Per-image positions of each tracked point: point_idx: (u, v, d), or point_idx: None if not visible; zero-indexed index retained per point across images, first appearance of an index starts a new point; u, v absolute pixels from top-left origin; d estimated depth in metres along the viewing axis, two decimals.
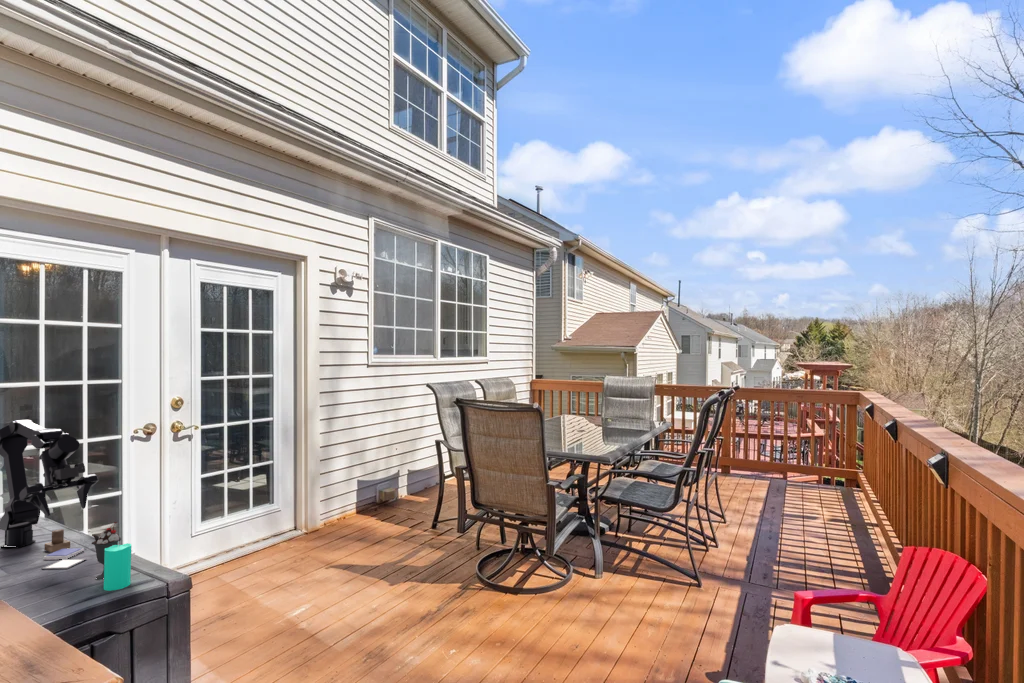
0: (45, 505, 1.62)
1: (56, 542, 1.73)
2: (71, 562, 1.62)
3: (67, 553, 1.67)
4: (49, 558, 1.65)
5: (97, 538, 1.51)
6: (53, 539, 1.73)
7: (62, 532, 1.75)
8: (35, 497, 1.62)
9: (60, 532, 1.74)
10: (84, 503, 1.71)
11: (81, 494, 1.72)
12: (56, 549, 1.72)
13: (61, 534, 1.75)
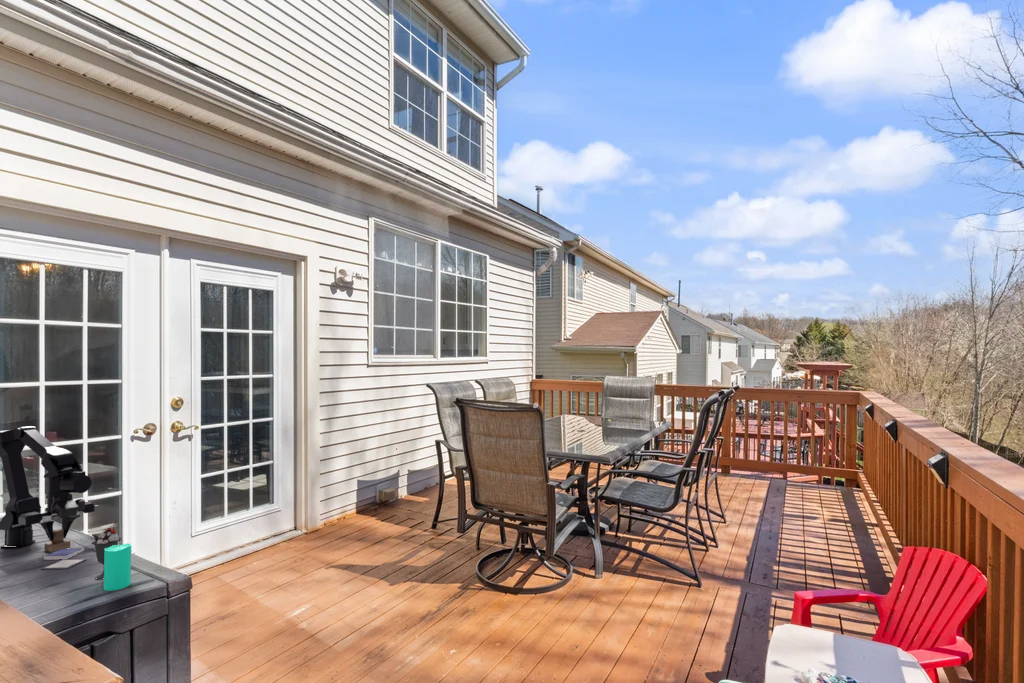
0: (50, 532, 1.72)
1: (56, 542, 1.73)
2: (71, 562, 1.62)
3: (67, 553, 1.67)
4: (49, 558, 1.65)
5: (97, 538, 1.51)
6: (53, 539, 1.73)
7: (62, 532, 1.75)
8: None
9: (60, 532, 1.74)
10: (65, 534, 1.76)
11: (65, 523, 1.77)
12: (56, 549, 1.72)
13: (61, 534, 1.75)
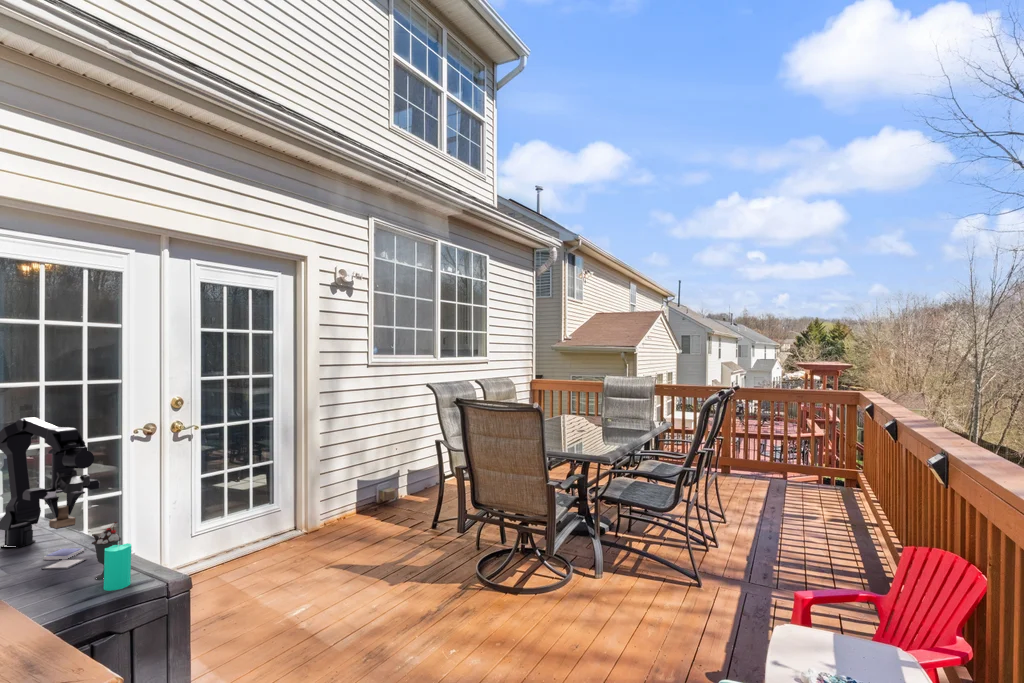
0: (55, 508, 1.70)
1: (61, 518, 1.71)
2: (71, 562, 1.62)
3: (67, 553, 1.67)
4: (49, 558, 1.65)
5: (97, 538, 1.51)
6: (58, 515, 1.71)
7: (67, 508, 1.73)
8: None
9: (65, 508, 1.72)
10: (70, 511, 1.74)
11: (69, 500, 1.74)
12: (61, 525, 1.70)
13: (66, 510, 1.72)
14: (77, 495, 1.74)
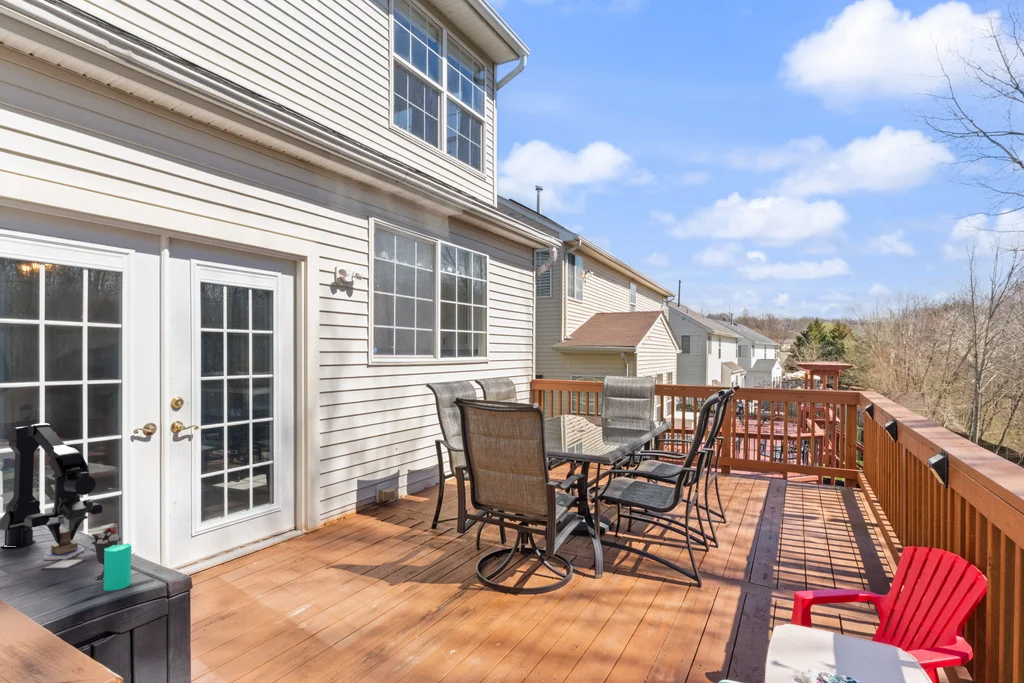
0: (57, 534, 1.67)
1: (63, 544, 1.68)
2: (71, 562, 1.62)
3: (67, 553, 1.67)
4: (49, 558, 1.65)
5: (97, 538, 1.51)
6: (60, 540, 1.68)
7: (69, 533, 1.69)
8: None
9: (67, 533, 1.68)
10: (72, 536, 1.70)
11: (72, 525, 1.71)
12: (63, 551, 1.67)
13: (69, 535, 1.69)
14: (80, 520, 1.71)
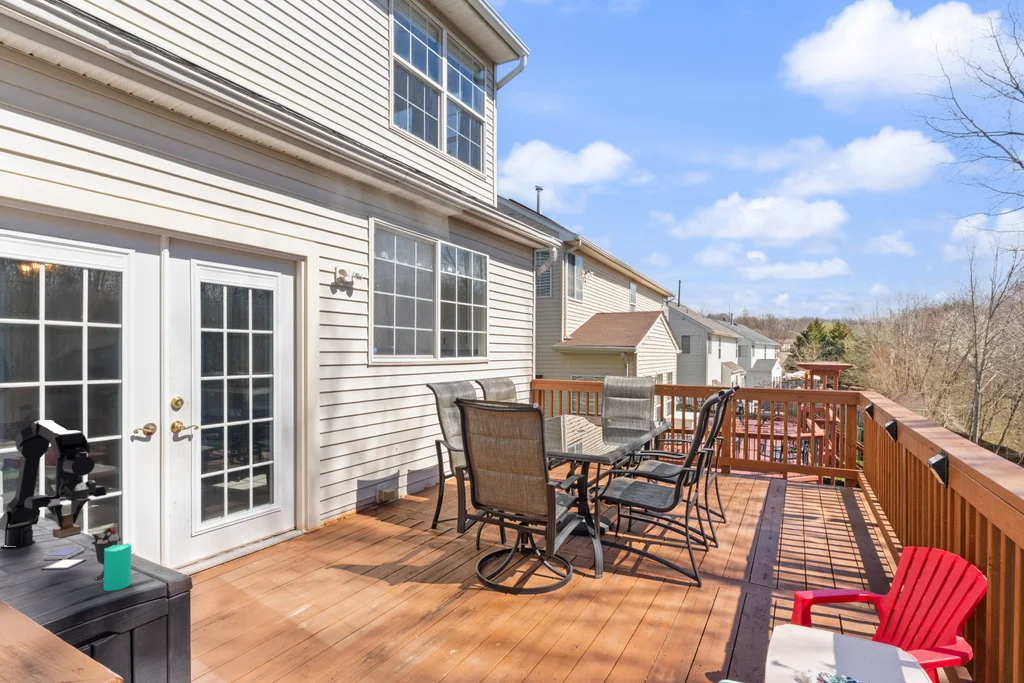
0: (59, 517, 1.60)
1: (65, 527, 1.61)
2: (71, 562, 1.62)
3: (67, 553, 1.67)
4: (49, 558, 1.65)
5: (97, 538, 1.51)
6: (62, 523, 1.61)
7: (71, 516, 1.62)
8: None
9: (69, 516, 1.62)
10: (75, 519, 1.63)
11: (74, 508, 1.64)
12: (65, 534, 1.60)
13: (71, 518, 1.62)
14: (82, 502, 1.64)
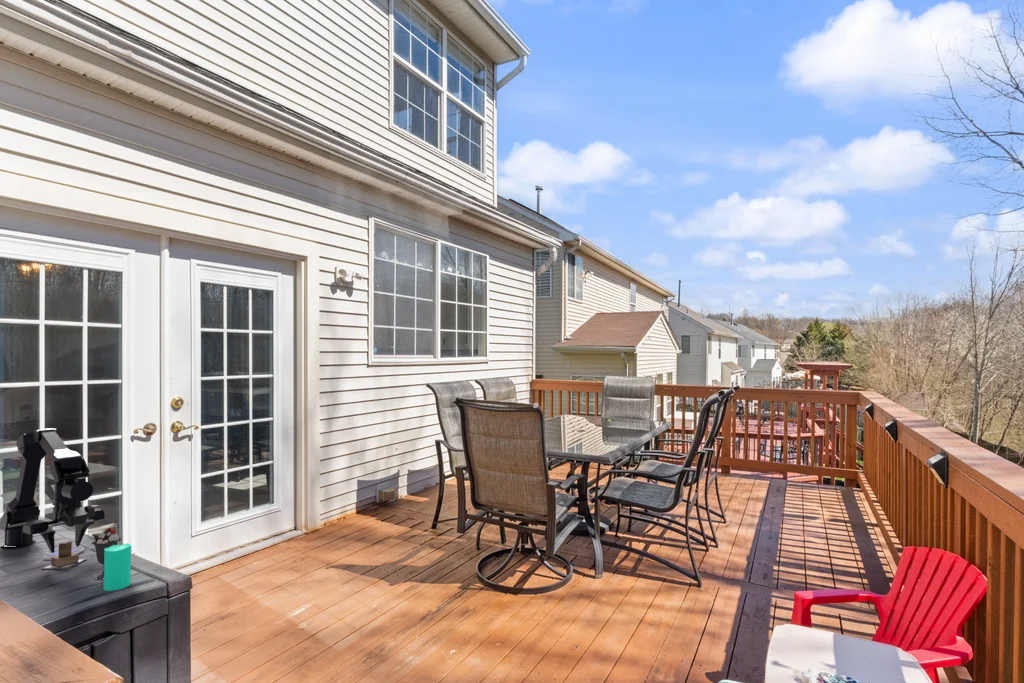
0: (52, 543, 1.57)
1: (63, 555, 1.60)
2: None
3: None
4: (49, 558, 1.65)
5: (97, 538, 1.51)
6: (60, 552, 1.60)
7: (70, 544, 1.61)
8: None
9: (68, 544, 1.61)
10: (79, 542, 1.64)
11: (78, 530, 1.64)
12: (63, 563, 1.59)
13: (69, 546, 1.61)
14: (86, 525, 1.64)
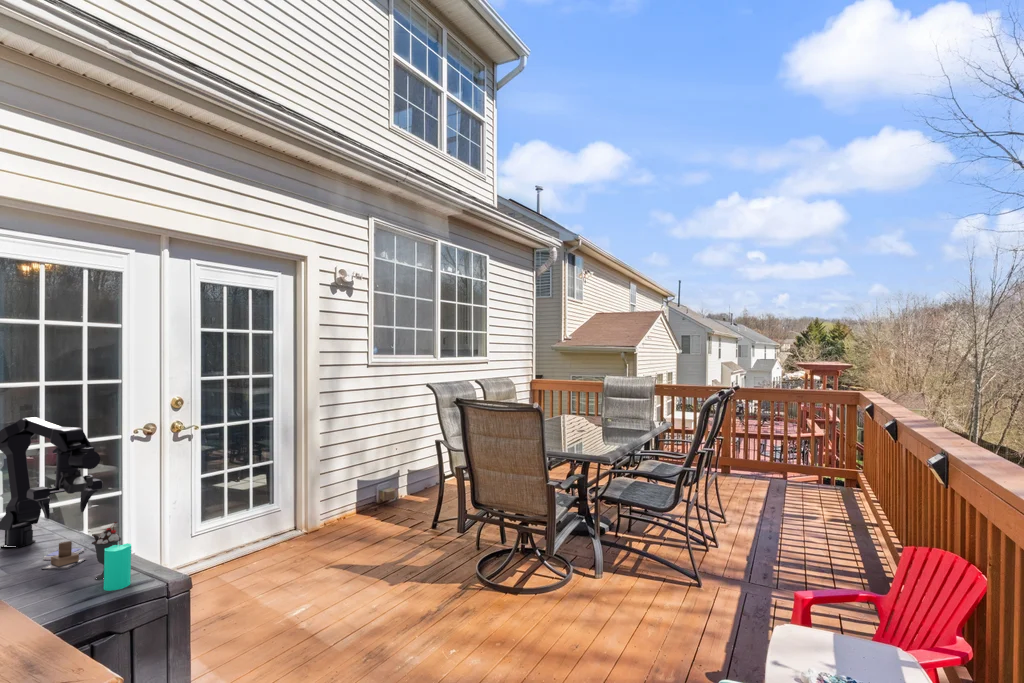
0: (47, 509, 1.69)
1: (63, 555, 1.60)
2: None
3: None
4: (49, 558, 1.65)
5: (97, 538, 1.51)
6: (60, 552, 1.60)
7: (70, 544, 1.61)
8: None
9: (68, 544, 1.61)
10: (83, 508, 1.78)
11: (83, 497, 1.79)
12: (63, 563, 1.59)
13: (69, 546, 1.61)
14: (91, 493, 1.78)
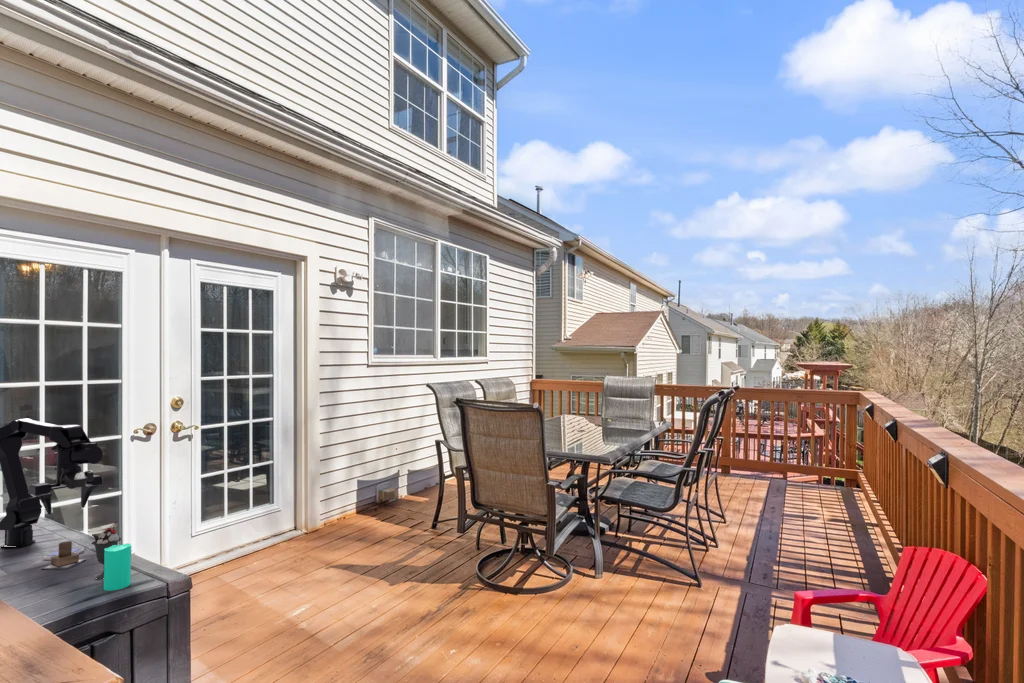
0: (48, 505, 1.72)
1: (63, 555, 1.60)
2: None
3: None
4: (49, 558, 1.65)
5: (97, 538, 1.51)
6: (60, 552, 1.60)
7: (70, 544, 1.61)
8: None
9: (68, 544, 1.61)
10: (84, 503, 1.81)
11: (84, 493, 1.82)
12: (63, 563, 1.59)
13: (69, 546, 1.61)
14: (91, 489, 1.81)
